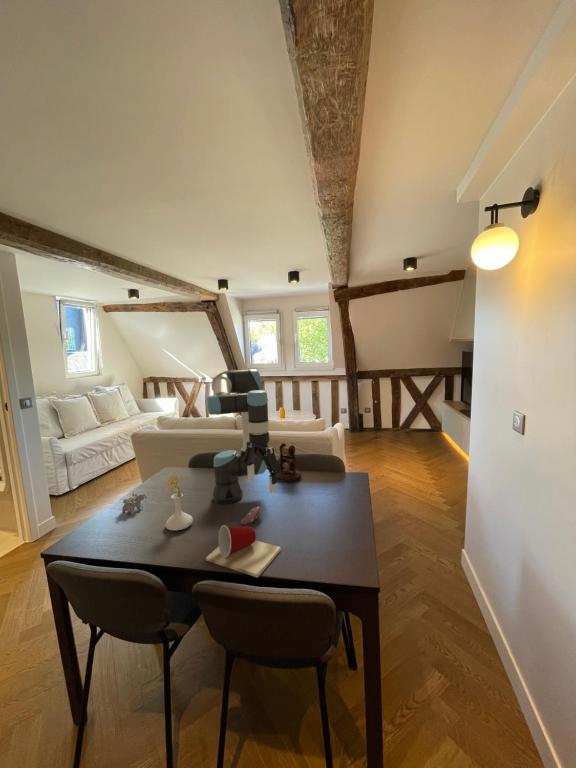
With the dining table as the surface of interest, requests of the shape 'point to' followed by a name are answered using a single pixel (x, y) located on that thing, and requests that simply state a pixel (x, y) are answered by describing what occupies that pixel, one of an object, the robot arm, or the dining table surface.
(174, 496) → the flower in vase
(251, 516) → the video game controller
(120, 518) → the dining table surface
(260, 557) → the birch board
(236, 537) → the plastic cup
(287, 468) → the brown wooden upright piece
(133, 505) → the elephant statuette
